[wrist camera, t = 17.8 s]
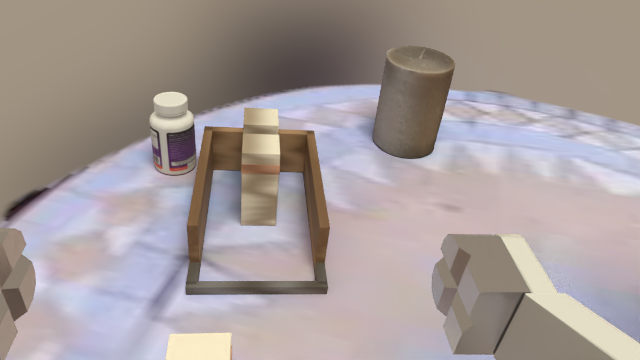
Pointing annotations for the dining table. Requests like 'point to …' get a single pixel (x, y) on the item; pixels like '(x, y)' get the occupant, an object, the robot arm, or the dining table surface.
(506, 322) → the robot arm
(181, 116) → the pill bottle
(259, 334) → the dining table surface
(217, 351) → the banded cream pillar
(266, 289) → the dispenser
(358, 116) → the dining table surface
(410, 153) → the pillar candle
